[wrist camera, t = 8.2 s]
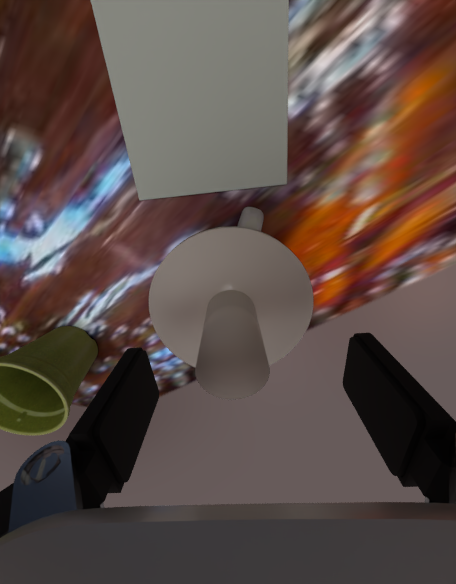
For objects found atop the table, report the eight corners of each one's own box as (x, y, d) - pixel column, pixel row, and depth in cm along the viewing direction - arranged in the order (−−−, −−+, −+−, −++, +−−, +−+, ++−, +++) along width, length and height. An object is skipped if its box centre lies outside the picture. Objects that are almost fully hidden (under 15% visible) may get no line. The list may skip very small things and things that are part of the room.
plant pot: (30, 307, 26) (-57, 356, 18) (111, 319, 27) (61, 372, 19) (41, 366, 30) (-26, 429, 22) (112, 376, 30) (71, 440, 22)
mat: (287, -42, 15) (289, -48, 15) (285, 184, 21) (286, 184, 20) (89, -12, 16) (86, -17, 15) (140, 200, 21) (139, 200, 21)
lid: (313, 217, 14) (383, 235, 8) (304, 360, 19) (343, 443, 13) (134, 235, 15) (63, 265, 8) (170, 370, 20) (142, 455, 13)
